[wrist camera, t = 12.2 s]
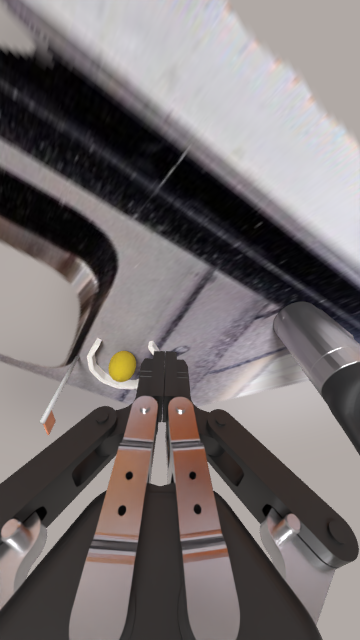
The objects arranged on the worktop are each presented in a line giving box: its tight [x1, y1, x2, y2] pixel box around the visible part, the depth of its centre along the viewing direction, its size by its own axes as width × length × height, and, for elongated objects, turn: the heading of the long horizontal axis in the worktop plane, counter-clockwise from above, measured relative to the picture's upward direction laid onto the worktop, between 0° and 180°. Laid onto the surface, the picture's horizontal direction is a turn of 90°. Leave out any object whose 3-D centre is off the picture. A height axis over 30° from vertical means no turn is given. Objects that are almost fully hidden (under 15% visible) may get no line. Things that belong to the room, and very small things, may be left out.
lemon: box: [109, 351, 136, 382], centre depth 45 cm, size 6×6×8 cm
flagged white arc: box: [40, 338, 160, 435], centre depth 43 cm, size 19×14×16 cm
